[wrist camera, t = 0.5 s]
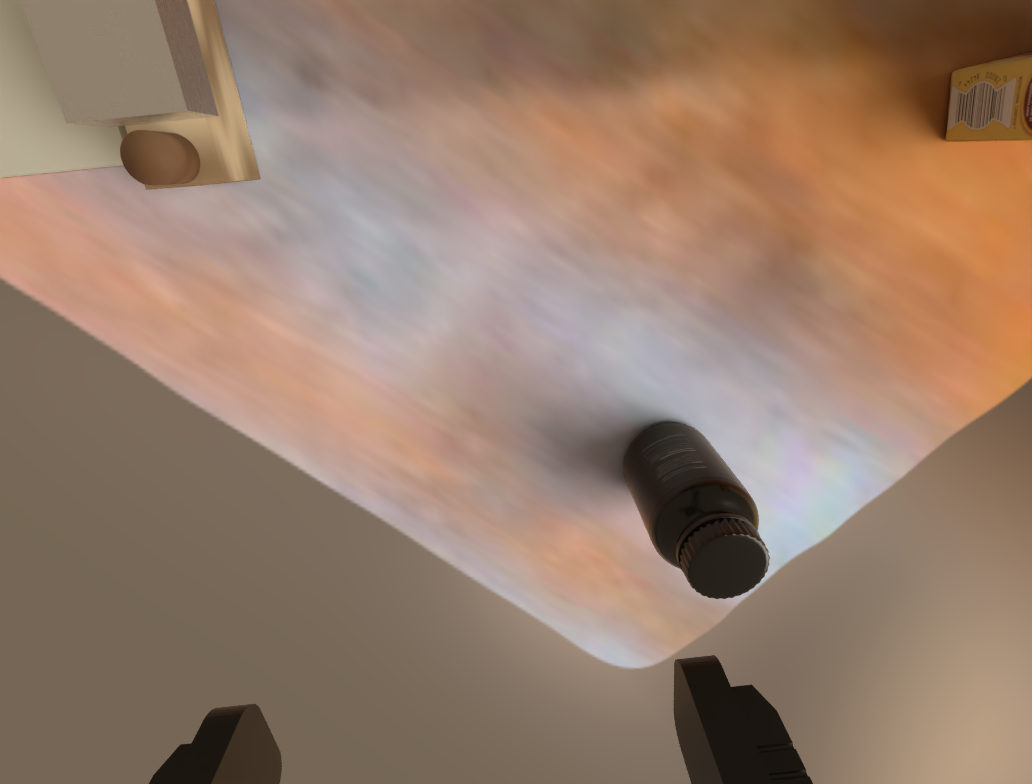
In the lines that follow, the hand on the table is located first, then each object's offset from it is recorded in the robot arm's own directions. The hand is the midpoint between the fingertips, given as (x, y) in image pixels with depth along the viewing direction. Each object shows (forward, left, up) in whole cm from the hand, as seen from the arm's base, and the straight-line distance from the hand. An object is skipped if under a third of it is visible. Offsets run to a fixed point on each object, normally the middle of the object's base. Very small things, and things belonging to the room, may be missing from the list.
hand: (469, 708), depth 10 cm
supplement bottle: (+12, +12, -29) cm, 34 cm away
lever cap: (-17, -15, -24) cm, 32 cm away
